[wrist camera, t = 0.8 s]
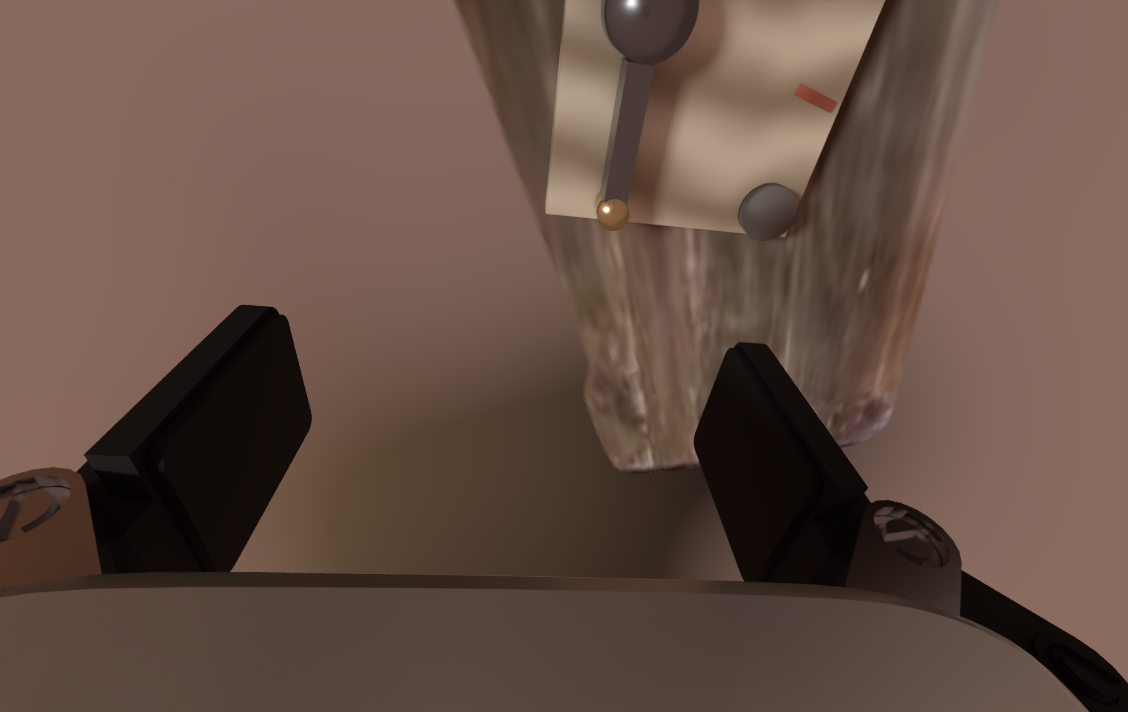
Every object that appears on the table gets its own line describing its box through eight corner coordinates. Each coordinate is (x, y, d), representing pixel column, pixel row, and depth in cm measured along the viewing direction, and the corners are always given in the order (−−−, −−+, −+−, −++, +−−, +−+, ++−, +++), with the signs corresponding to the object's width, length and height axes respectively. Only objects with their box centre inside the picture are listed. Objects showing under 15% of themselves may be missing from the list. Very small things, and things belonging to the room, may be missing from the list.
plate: (581, -168, 25) (586, -187, 22) (909, -107, 27) (950, -118, 24) (545, 204, 37) (546, 220, 34) (774, 227, 39) (792, 244, 36)
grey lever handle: (608, -54, 26) (615, -59, 24) (695, -40, 27) (711, -43, 24) (573, 212, 35) (575, 228, 33) (638, 219, 36) (645, 235, 33)
